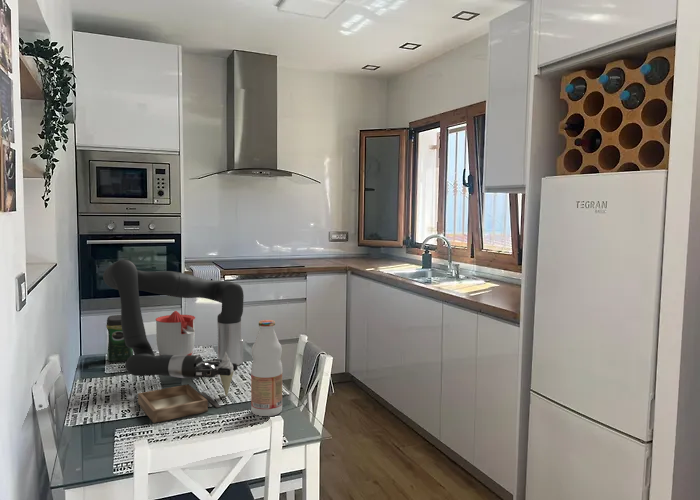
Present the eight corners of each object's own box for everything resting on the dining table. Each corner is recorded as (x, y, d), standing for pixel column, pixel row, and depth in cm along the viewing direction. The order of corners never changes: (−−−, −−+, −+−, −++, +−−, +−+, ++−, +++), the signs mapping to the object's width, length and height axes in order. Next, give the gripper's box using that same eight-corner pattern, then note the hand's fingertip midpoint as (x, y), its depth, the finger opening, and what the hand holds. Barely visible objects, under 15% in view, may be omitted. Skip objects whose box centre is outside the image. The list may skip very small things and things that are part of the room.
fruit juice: (256, 419, 153) (255, 325, 151) (247, 408, 161) (247, 319, 159) (286, 414, 157) (286, 323, 155) (276, 404, 165) (276, 317, 164)
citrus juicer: (175, 366, 204) (174, 316, 203) (148, 359, 214) (147, 311, 213) (206, 357, 218) (206, 310, 216) (179, 351, 227) (178, 306, 226)
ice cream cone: (219, 393, 175) (219, 349, 174) (235, 392, 175) (234, 349, 174) (217, 398, 170) (217, 353, 169) (233, 398, 170) (232, 353, 169)
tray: (202, 391, 176) (202, 381, 176) (222, 408, 161) (222, 397, 161) (138, 404, 164) (138, 393, 164) (153, 423, 149) (153, 411, 149)
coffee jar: (133, 356, 218) (133, 312, 217) (131, 361, 211) (131, 316, 210) (108, 358, 215) (107, 313, 214) (105, 363, 208) (104, 317, 207)
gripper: (175, 361, 167) (225, 364, 164) (195, 350, 181) (241, 352, 178) (175, 384, 168) (225, 387, 165) (195, 371, 182) (242, 374, 179)
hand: (233, 369), depth 172 cm, fingers closed on ice cream cone, 5 cm apart
